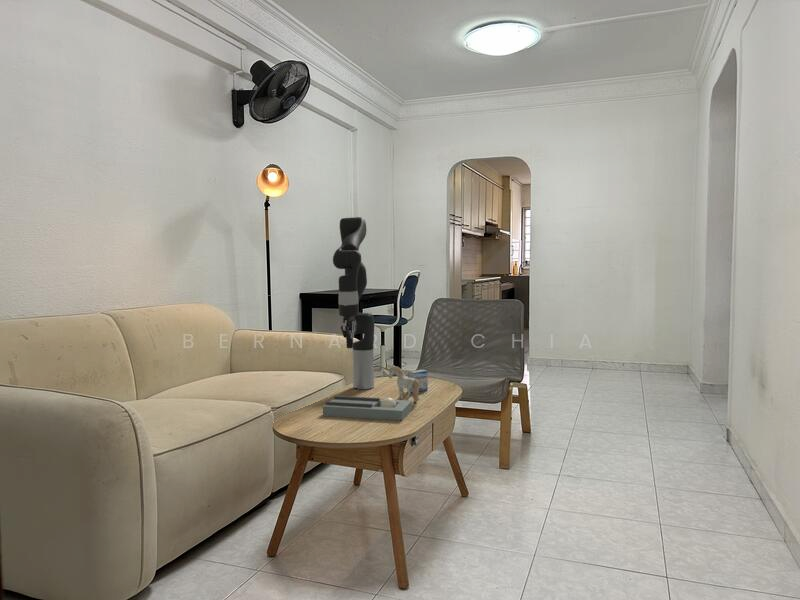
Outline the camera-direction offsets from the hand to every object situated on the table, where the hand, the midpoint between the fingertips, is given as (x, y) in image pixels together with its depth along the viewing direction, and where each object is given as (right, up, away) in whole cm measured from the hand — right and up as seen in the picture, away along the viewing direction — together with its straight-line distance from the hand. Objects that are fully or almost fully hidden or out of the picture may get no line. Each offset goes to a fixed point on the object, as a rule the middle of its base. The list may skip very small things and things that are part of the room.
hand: (349, 347), depth 223 cm
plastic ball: (+15, -21, -8) cm, 27 cm away
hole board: (+7, -24, -6) cm, 25 cm away
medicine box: (+27, -21, +29) cm, 45 cm away
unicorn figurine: (+19, -23, +11) cm, 31 cm away
